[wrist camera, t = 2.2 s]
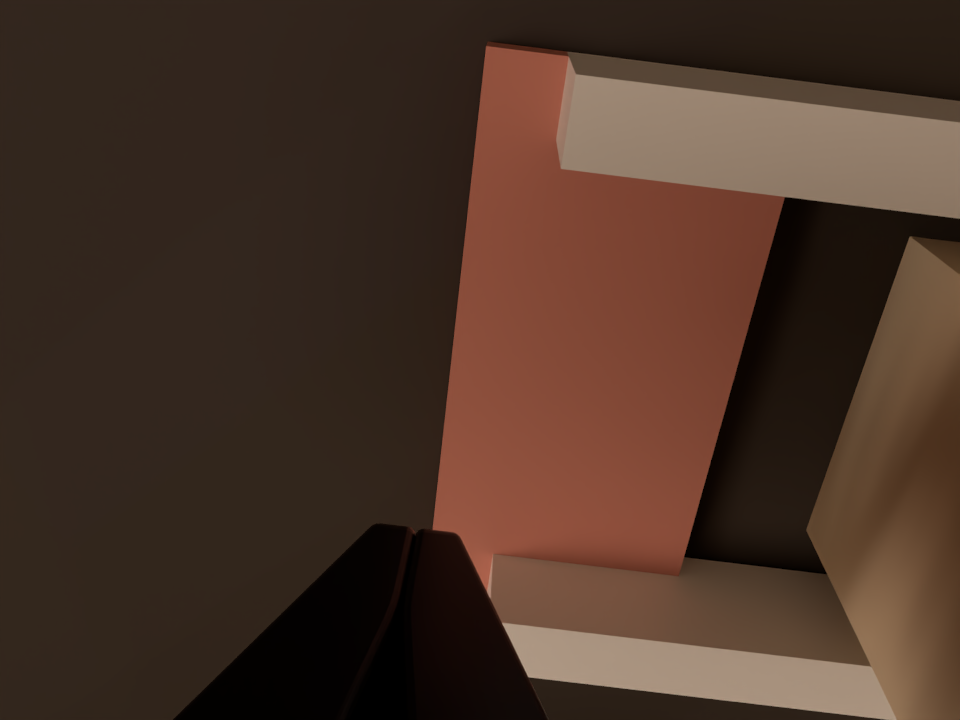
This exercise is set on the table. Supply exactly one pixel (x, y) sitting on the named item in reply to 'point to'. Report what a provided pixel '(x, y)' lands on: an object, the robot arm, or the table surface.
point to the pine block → (903, 491)
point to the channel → (648, 359)
